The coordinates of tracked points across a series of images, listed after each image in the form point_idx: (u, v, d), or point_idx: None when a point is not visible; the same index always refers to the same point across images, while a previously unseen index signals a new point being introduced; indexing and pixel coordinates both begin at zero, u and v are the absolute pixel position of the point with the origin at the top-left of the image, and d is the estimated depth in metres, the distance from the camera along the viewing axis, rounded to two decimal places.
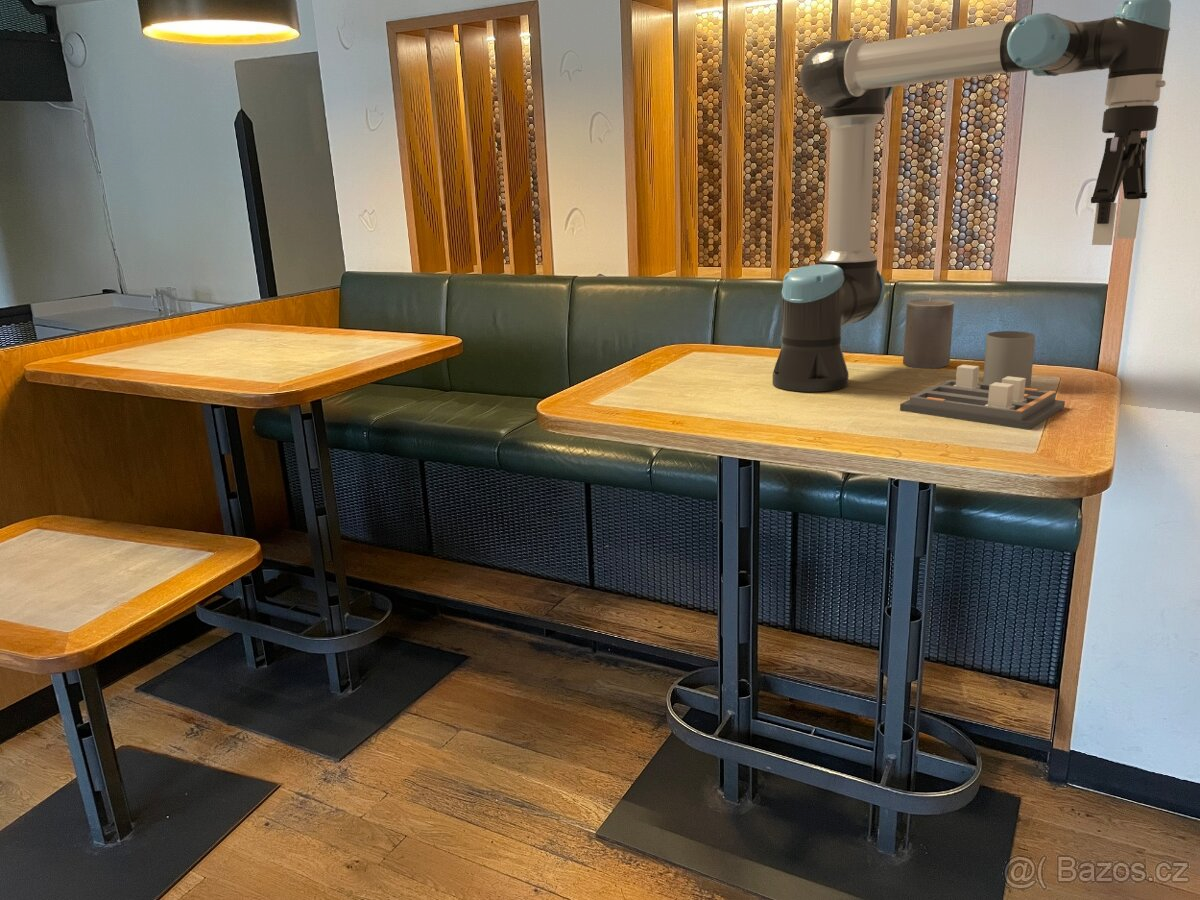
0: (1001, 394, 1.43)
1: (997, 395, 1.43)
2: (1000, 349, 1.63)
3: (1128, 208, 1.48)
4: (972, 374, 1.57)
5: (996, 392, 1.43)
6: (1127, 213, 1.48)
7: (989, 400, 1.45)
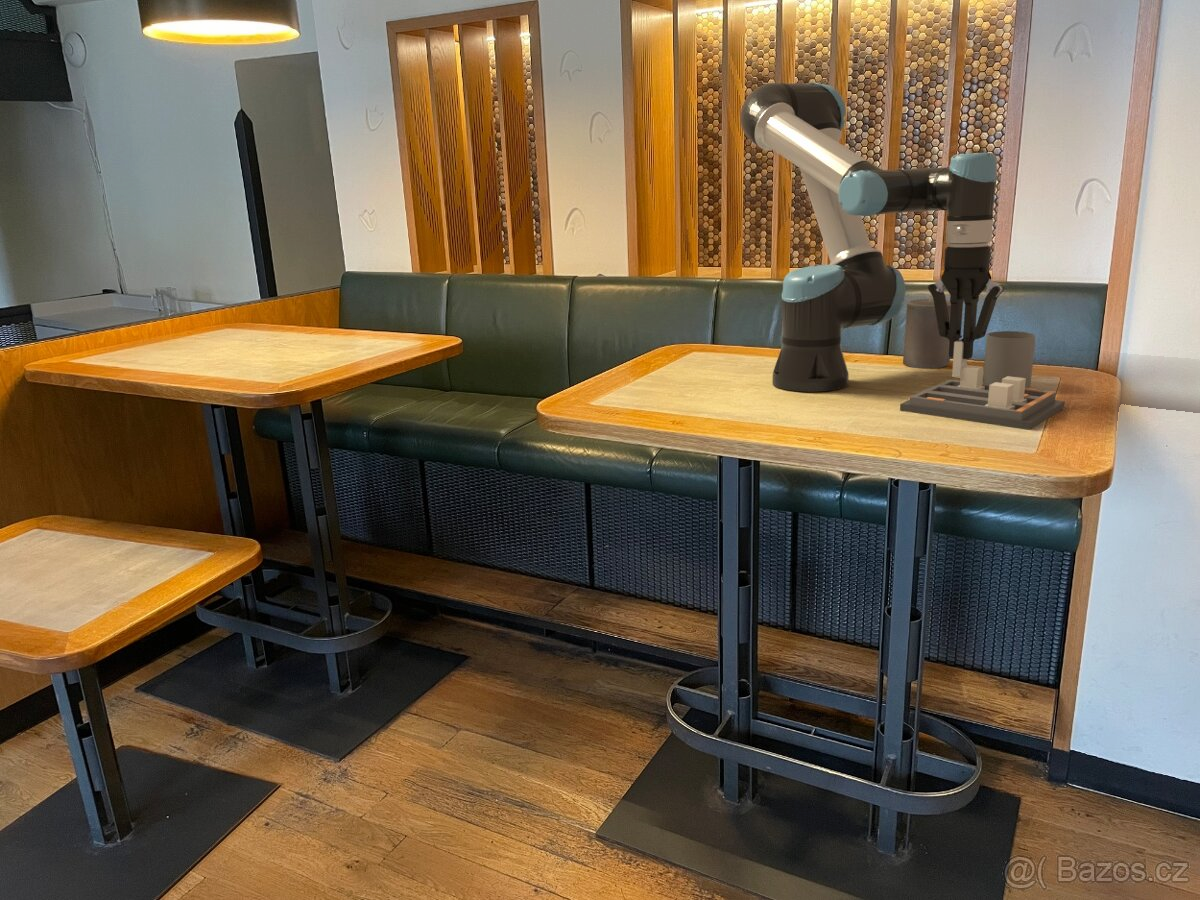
0: (1001, 394, 1.43)
1: (997, 395, 1.43)
2: (1000, 349, 1.63)
3: None
4: (976, 374, 1.56)
5: (996, 392, 1.43)
6: None
7: (989, 400, 1.45)
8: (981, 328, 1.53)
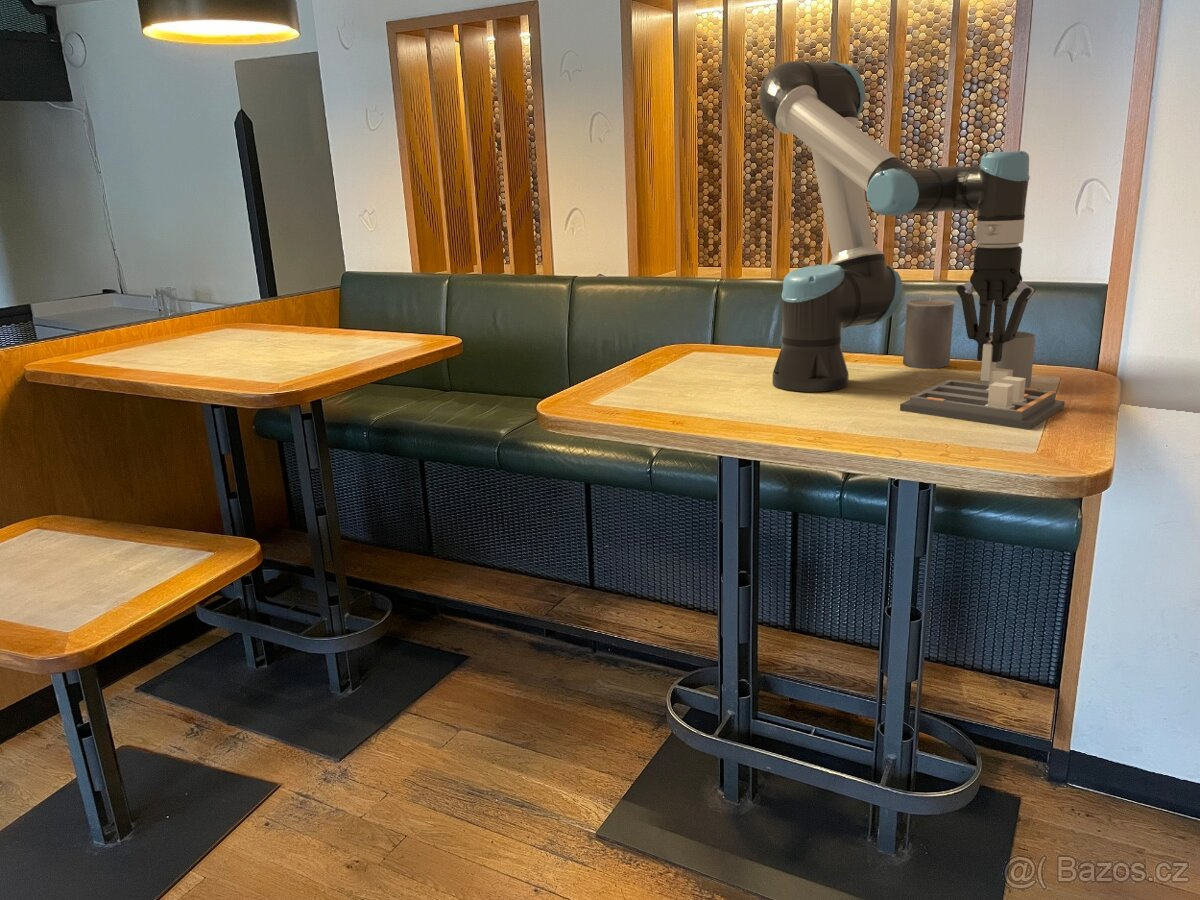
0: (1001, 394, 1.43)
1: (997, 395, 1.43)
2: None
3: None
4: None
5: (996, 392, 1.43)
6: None
7: (989, 400, 1.45)
8: (1011, 331, 1.50)
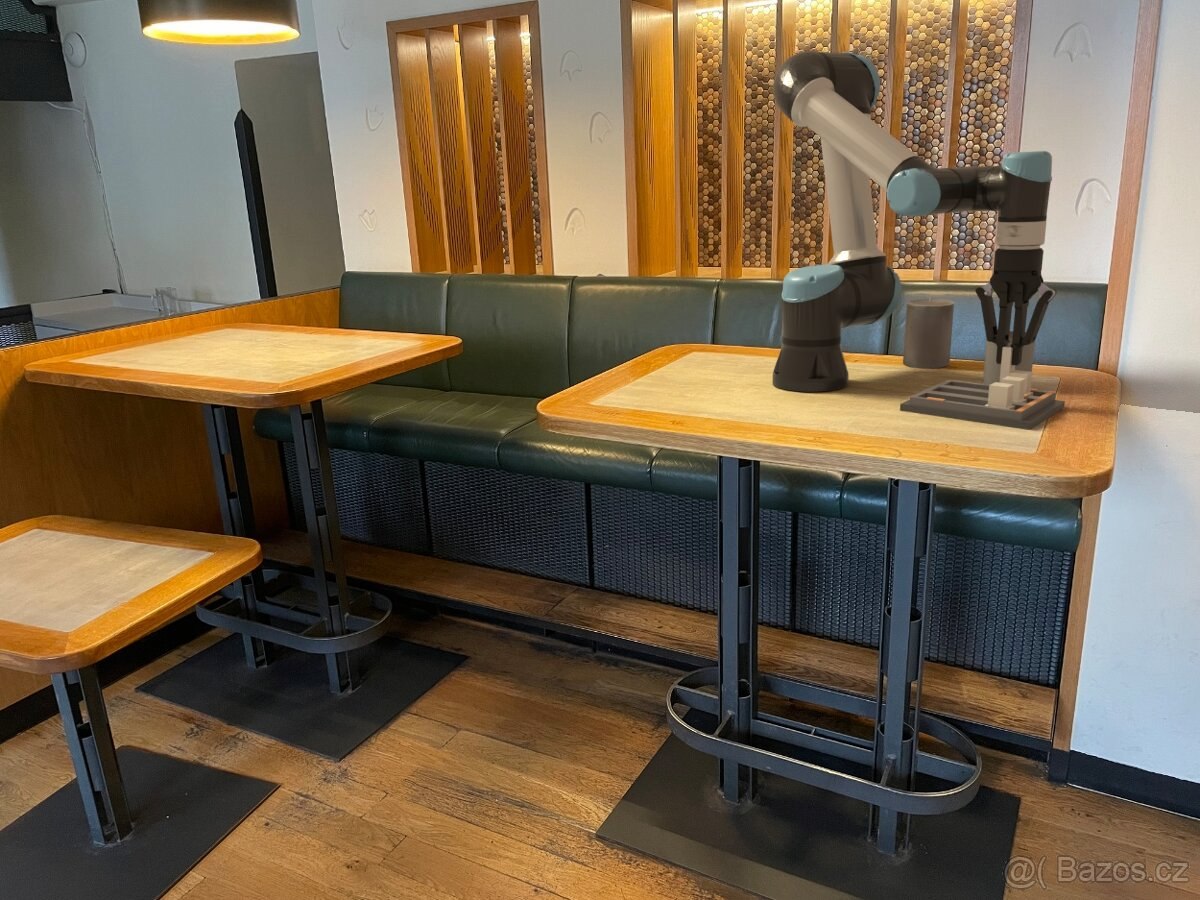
0: (1001, 394, 1.43)
1: (997, 395, 1.43)
2: None
3: None
4: None
5: (996, 392, 1.43)
6: None
7: (989, 400, 1.45)
8: (1032, 333, 1.48)
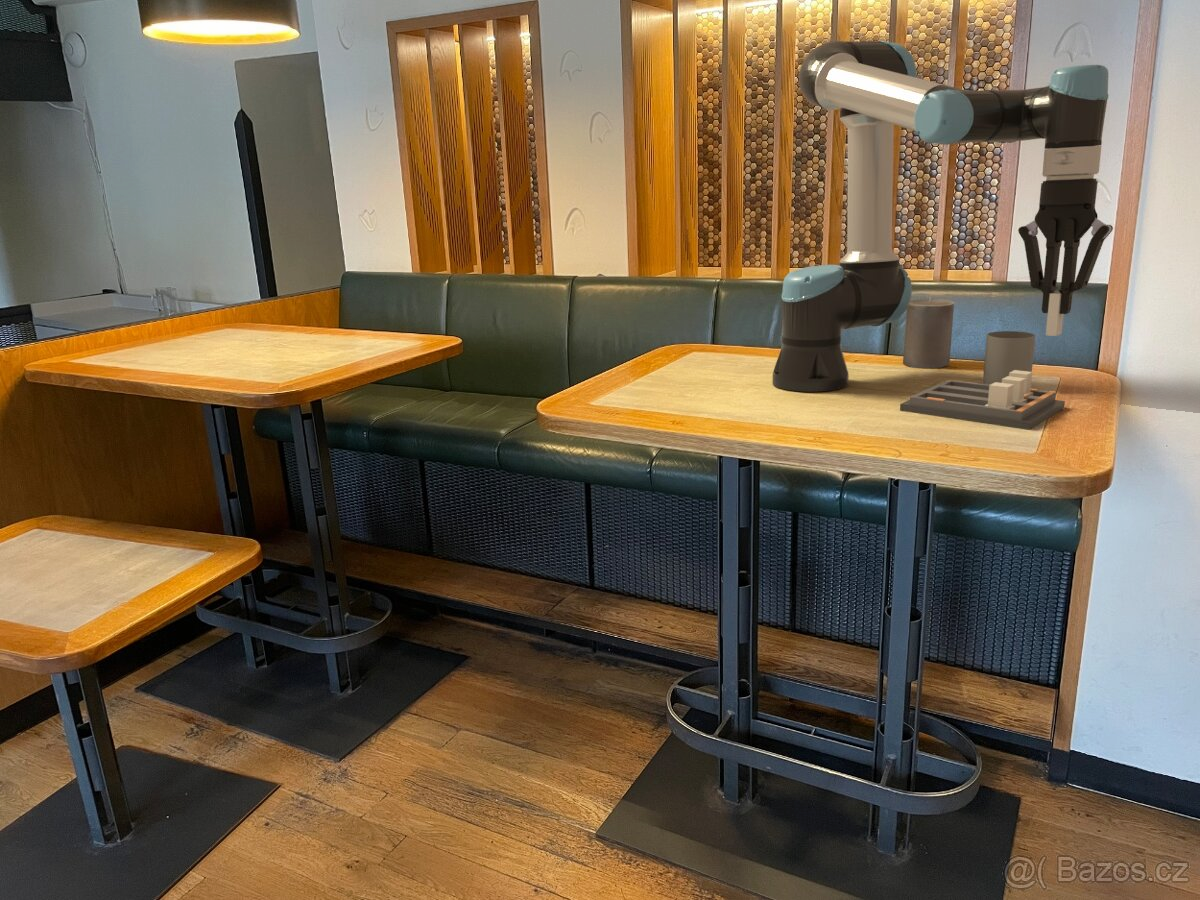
0: (1001, 394, 1.43)
1: (997, 395, 1.43)
2: (1000, 349, 1.63)
3: None
4: None
5: (996, 392, 1.43)
6: None
7: (989, 400, 1.45)
8: (1084, 276, 1.30)
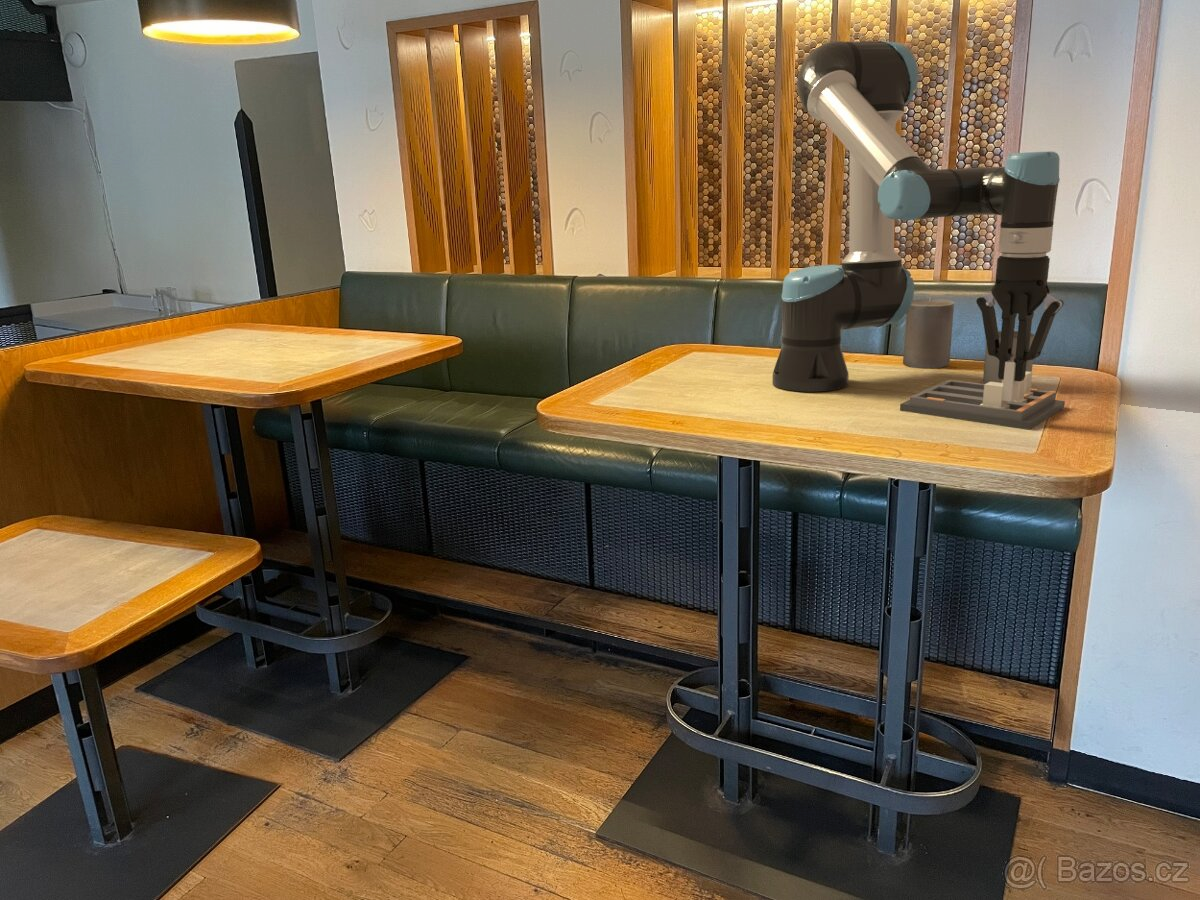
0: (996, 393, 1.43)
1: (991, 394, 1.44)
2: None
3: None
4: None
5: (991, 391, 1.44)
6: None
7: (984, 399, 1.45)
8: (1037, 348, 1.38)
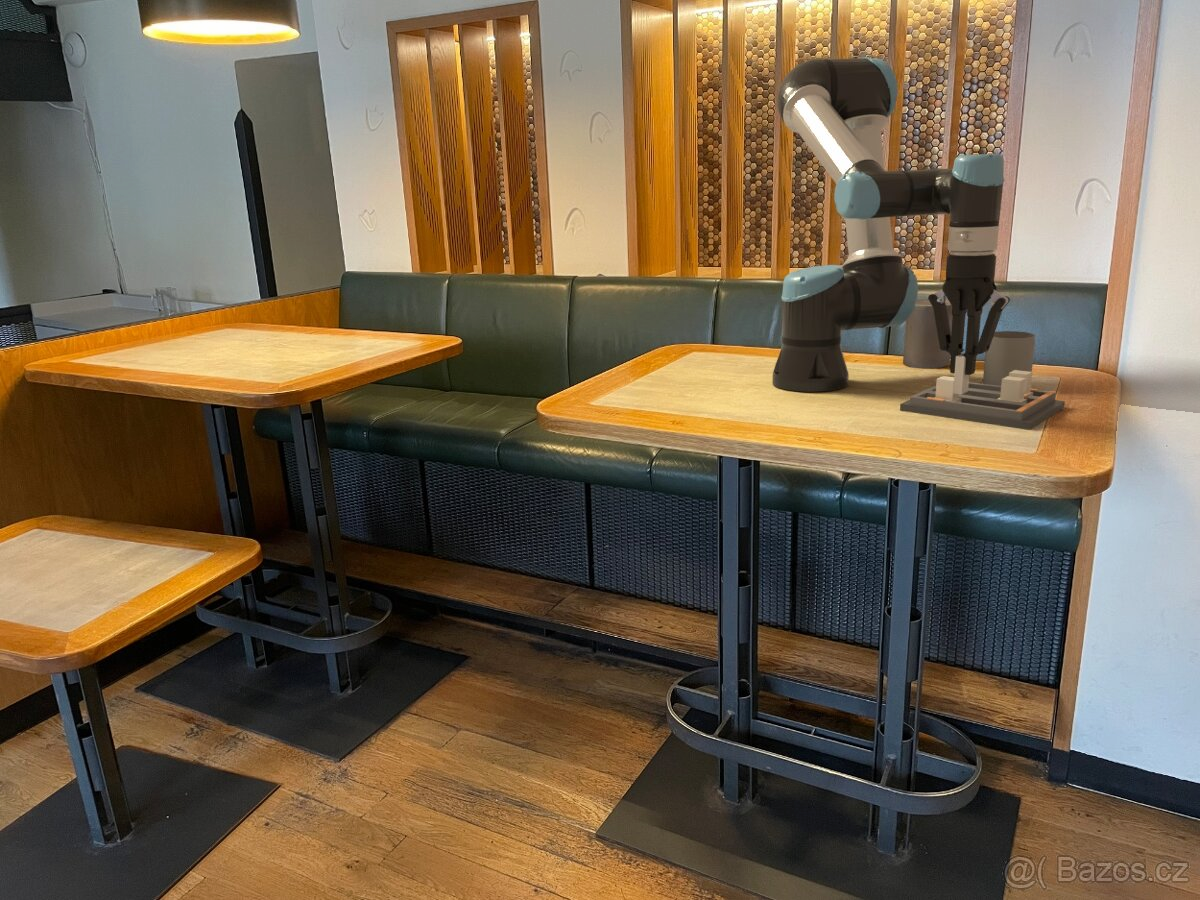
0: (948, 387, 1.49)
1: (943, 388, 1.50)
2: (1000, 349, 1.63)
3: None
4: None
5: (943, 385, 1.49)
6: None
7: (936, 393, 1.51)
8: (985, 342, 1.43)
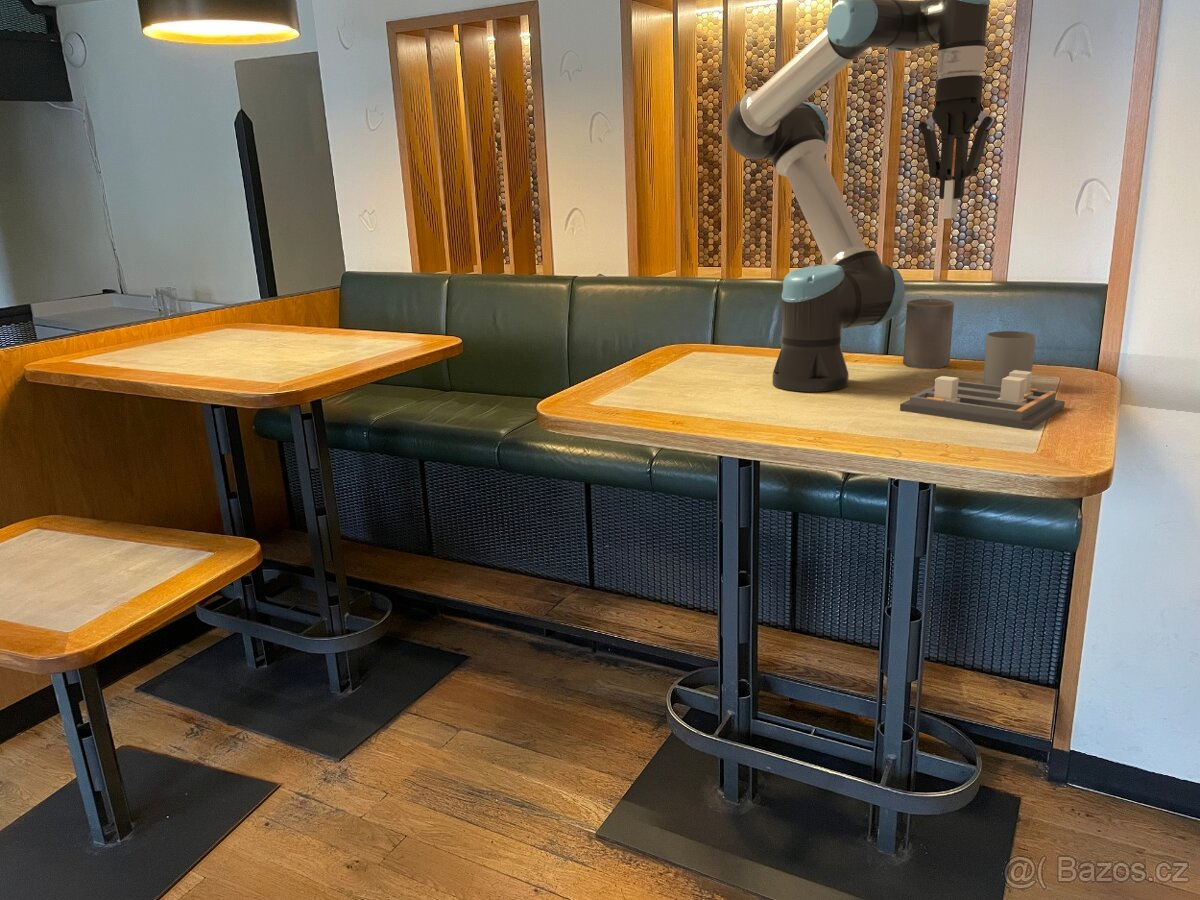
0: (946, 387, 1.49)
1: (942, 388, 1.50)
2: (1000, 349, 1.63)
3: None
4: None
5: (941, 385, 1.50)
6: None
7: (935, 393, 1.51)
8: (972, 163, 1.49)
